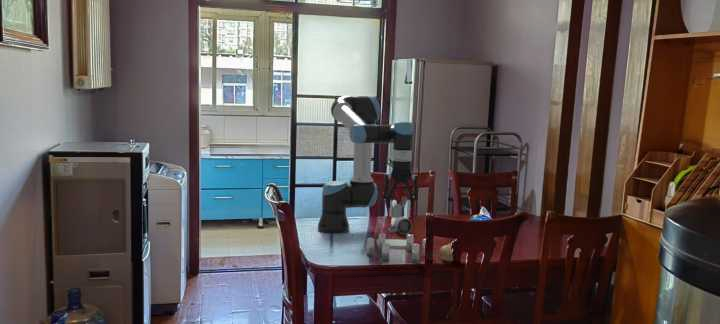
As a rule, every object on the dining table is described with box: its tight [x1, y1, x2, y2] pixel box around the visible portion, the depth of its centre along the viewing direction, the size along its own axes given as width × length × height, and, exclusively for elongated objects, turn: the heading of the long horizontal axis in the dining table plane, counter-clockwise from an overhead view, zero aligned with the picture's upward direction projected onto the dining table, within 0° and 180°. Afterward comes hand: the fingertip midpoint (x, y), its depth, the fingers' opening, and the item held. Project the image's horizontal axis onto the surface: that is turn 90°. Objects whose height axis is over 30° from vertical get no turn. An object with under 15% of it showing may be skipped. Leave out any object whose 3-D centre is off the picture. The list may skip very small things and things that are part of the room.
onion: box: [438, 242, 452, 263], centre depth 217 cm, size 8×8×7 cm
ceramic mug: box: [388, 216, 413, 235], centre depth 260 cm, size 11×8×8 cm
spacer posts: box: [365, 233, 427, 264], centre depth 221 cm, size 26×18×7 cm
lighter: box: [391, 196, 409, 219], centre depth 219 cm, size 7×2×8 cm, turn 127°
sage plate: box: [375, 238, 406, 250], centre depth 237 cm, size 14×10×1 cm
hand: (399, 216), depth 219 cm, fingers closed on lighter, 7 cm apart
